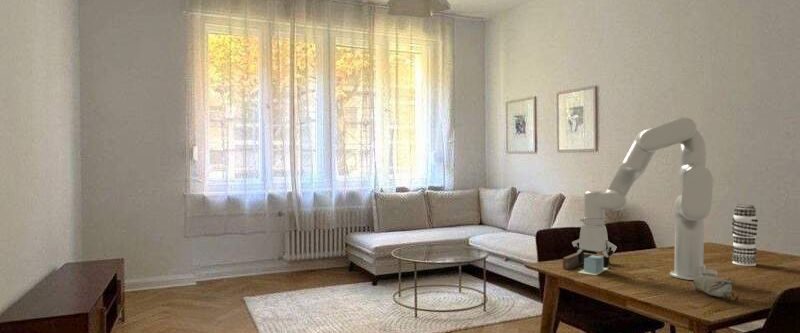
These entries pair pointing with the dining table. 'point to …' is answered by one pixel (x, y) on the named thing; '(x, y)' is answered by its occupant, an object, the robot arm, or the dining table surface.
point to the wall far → (570, 261)
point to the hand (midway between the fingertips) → (593, 264)
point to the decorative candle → (744, 235)
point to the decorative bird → (714, 286)
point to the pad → (593, 273)
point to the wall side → (594, 255)
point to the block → (593, 264)
